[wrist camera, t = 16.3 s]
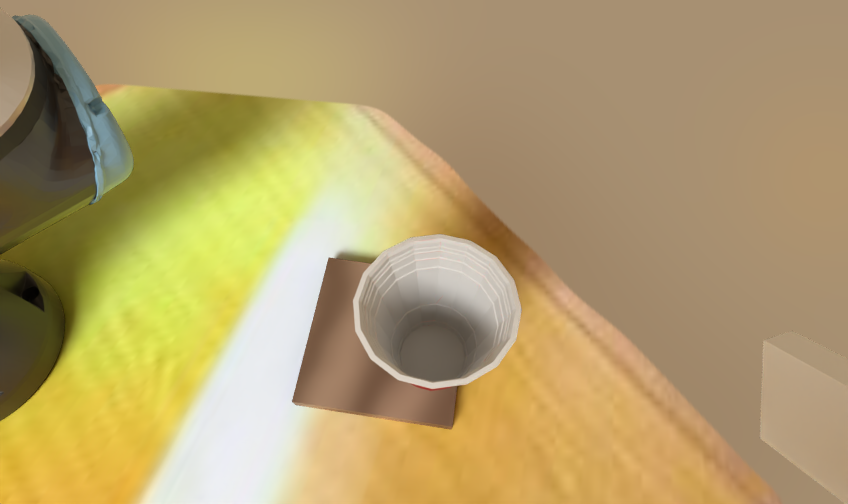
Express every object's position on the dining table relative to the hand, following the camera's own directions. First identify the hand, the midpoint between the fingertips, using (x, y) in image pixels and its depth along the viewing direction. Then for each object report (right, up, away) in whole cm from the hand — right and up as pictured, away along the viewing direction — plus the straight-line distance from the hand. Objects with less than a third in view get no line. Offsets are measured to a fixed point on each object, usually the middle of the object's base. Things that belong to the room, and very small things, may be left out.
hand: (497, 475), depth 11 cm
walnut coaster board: (-5, -3, +35) cm, 35 cm away
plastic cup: (-1, -4, +33) cm, 33 cm away
